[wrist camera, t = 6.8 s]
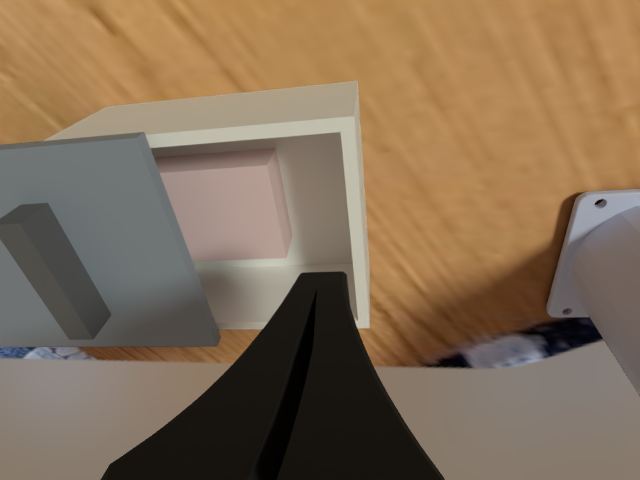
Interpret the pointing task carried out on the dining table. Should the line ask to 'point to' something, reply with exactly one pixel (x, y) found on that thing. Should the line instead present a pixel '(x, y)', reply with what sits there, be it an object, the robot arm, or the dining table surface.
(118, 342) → the lid
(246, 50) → the dining table surface
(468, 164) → the dining table surface
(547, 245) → the dining table surface
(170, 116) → the box
